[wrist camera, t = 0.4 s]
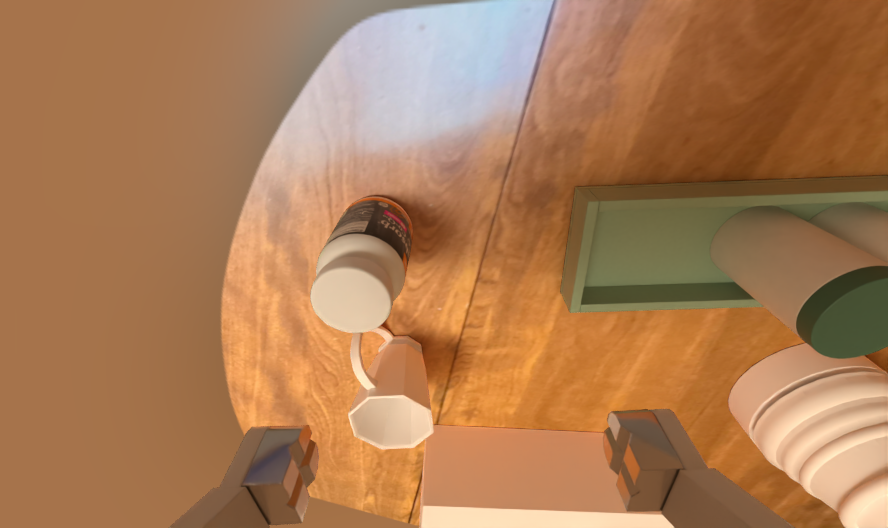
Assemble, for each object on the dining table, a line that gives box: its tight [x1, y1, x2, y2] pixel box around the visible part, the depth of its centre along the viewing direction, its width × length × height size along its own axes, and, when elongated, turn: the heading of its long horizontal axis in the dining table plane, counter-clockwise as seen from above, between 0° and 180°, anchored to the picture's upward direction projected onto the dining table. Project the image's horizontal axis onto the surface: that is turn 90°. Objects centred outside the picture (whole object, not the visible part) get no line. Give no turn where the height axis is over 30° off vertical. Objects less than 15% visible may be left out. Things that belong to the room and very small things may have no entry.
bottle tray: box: [560, 175, 888, 313], centre depth 30 cm, size 26×10×3 cm, turn 92°
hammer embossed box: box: [419, 425, 675, 528], centre depth 42 cm, size 14×25×11 cm, turn 86°
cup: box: [348, 326, 434, 449], centre depth 33 cm, size 7×10×8 cm
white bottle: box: [710, 205, 888, 359], centre depth 26 cm, size 6×6×10 cm
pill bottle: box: [310, 196, 413, 333], centre depth 26 cm, size 6×6×10 cm
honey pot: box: [728, 343, 888, 528], centre depth 32 cm, size 13×13×18 cm
